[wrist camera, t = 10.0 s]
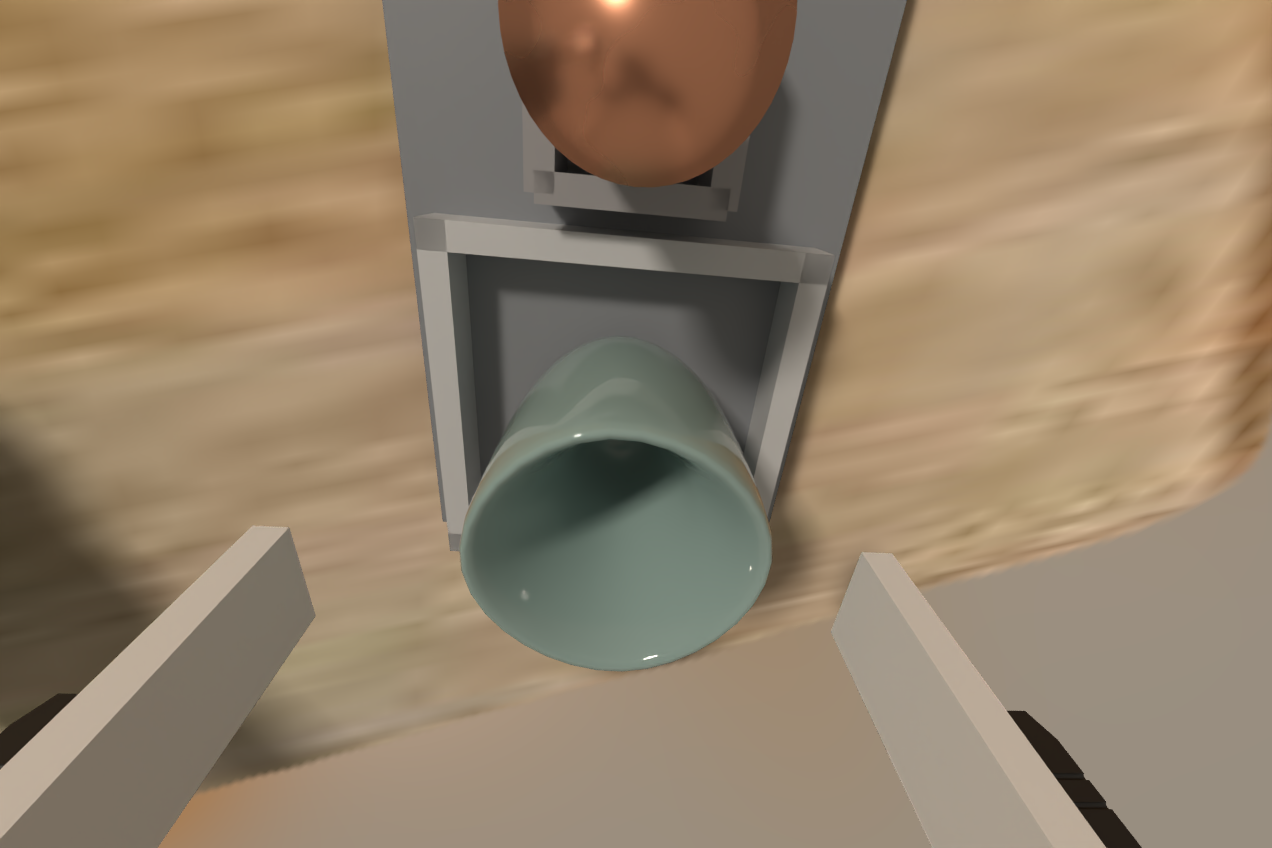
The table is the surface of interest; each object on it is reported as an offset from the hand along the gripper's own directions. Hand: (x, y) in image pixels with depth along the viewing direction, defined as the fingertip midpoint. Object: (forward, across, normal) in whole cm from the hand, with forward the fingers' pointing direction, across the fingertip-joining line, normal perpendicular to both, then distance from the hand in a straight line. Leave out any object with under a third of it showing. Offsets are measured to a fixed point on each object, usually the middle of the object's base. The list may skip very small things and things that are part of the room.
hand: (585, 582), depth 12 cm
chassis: (+12, -1, -4) cm, 13 cm away
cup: (+11, -1, 0) cm, 11 cm away
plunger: (+7, -1, -11) cm, 13 cm away
